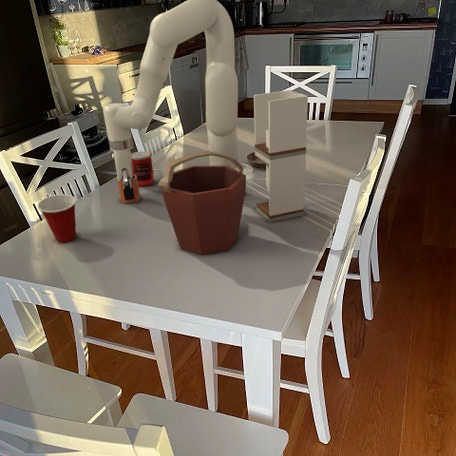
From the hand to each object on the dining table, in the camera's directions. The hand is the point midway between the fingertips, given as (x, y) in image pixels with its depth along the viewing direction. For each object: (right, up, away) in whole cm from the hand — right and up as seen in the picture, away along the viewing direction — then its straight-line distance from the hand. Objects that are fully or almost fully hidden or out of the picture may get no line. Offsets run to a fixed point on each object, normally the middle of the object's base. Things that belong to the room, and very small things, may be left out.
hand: (129, 194), depth 166 cm
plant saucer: (+51, +18, +26) cm, 60 cm away
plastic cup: (-14, -18, -23) cm, 32 cm away
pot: (0, -1, +1) cm, 2 cm away
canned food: (+3, +7, +14) cm, 16 cm away
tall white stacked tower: (+50, -9, -15) cm, 53 cm away
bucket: (+28, -19, -28) cm, 44 cm away
